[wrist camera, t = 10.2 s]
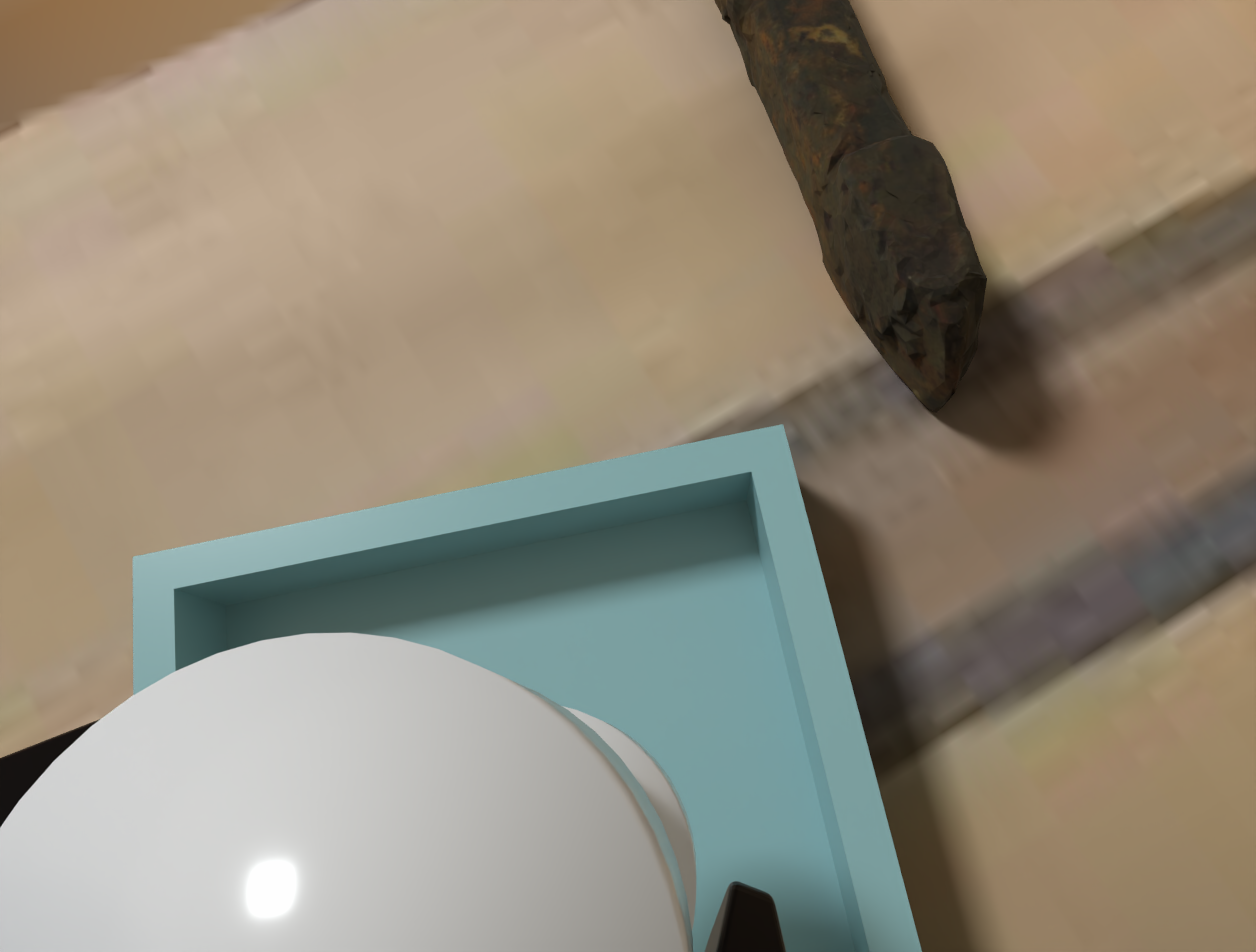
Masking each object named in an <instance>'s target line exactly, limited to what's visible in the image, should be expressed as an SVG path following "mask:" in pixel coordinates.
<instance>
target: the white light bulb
mask: <svg viewBox="0 0 1256 952" xmlns="http://www.w3.org/2000/svg"><path fill="white" fill-rule="evenodd" d="M696 880H697V874H696V852H695V845H694V839H693V833H692V829H691V826H690V822H689V819H688V815H687V812H686V810H685V807H684V805H683V802H682V800H681V798H680V795H679V793H678V791H677V790H676V788H675V786H674V784H673V783H672V781H671V779H670V777H669V776H668V775H667V773H666V772H665V771H664V769H663V768H662V767H661V765H660V764H659V763H658V761H657V760H656V759H655V758H654V757H653V756H652V755H651V754H650V753H649V752H648V751H647V750H646V749H645V748H644V747H643V746H642V745H641V744H639V743H638V742H637V741H636V740H634V739H633V738H632V737H630V736H629V735H628V734H626V733H625V732H623V731H621V730H619V729H618V728H616V727H614V726H613V725H611V724H608V723H606V722H604V721H602V720H599V719H597V718H595V717H592V716H590V715H588V714H585V713H583V712H580V711H578V710H575V709H571V708H568V707H564V706H561V705H559V704H557V703H556V702H554V701H552V700H550V699H549V698H547V697H545V696H544V695H542V694H540V693H539V692H536V691H534V690H532V689H530V688H527V687H525V686H523V685H521V684H519V683H516V682H514V681H512V680H510V679H507V678H505V677H503V676H501V675H498V674H496V673H494V672H492V671H489V670H487V669H485V668H483V667H480V666H478V665H476V664H473V663H471V662H468V661H466V660H464V659H461V658H459V657H456V656H454V655H452V654H449V653H447V652H444V651H442V650H440V649H436V648H433V647H429V646H425V645H421V644H417V643H413V642H410V641H406V640H402V639H398V638H393V637H385V636H376V635H367V634H359V633H307V634H300V635H294V636H287V637H281V638H274V639H268V640H261V641H258V642H255V643H251V644H248V645H244V646H241V647H237V648H234V649H230V650H227V651H223V652H220V653H217V654H214V655H212V656H210V657H207V658H205V659H203V660H200V661H198V662H196V663H194V664H191V665H189V666H187V667H184V668H182V669H180V670H177V671H175V672H173V673H171V674H169V675H168V676H166V677H164V678H163V679H161V680H159V681H157V682H156V683H154V684H152V685H150V686H149V687H147V688H145V689H143V690H142V691H140V692H138V693H137V694H135V695H133V696H131V697H130V698H129V699H127V700H126V701H125V702H123V703H122V704H121V705H119V706H118V707H117V708H115V709H114V710H113V711H111V712H110V713H109V714H107V715H106V716H104V717H103V718H102V719H100V720H99V721H98V722H96V723H95V724H94V725H92V726H91V727H90V728H89V729H88V730H87V731H86V732H85V733H84V734H82V735H81V736H80V737H79V738H78V739H77V740H76V741H75V742H74V743H73V744H72V745H71V746H70V747H68V748H67V749H66V750H65V751H64V752H63V753H62V754H61V755H60V756H59V757H58V758H57V759H55V760H54V761H53V763H52V764H51V765H50V766H49V767H48V768H47V769H46V771H45V772H44V773H43V774H42V775H41V776H40V777H39V779H38V780H37V781H36V782H35V783H34V784H33V785H32V787H31V788H30V789H29V790H28V791H27V792H26V793H25V795H24V796H23V797H22V798H21V799H20V800H19V802H18V803H17V805H16V806H15V807H14V809H13V810H12V812H11V813H10V814H9V816H8V817H7V819H6V820H5V821H4V823H3V824H2V826H1V827H0V952H693V936H692V929H693V924H694V915H695V903H696Z"/></svg>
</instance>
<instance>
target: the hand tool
mask: <svg viewBox="0 0 1256 952" xmlns="http://www.w3.org/2000/svg"><path fill="white" fill-rule="evenodd" d="M715 3H716V5H717V6H718V8H719V10H720V12H721V14H722V19H723V20H725V21H726V22H727V23H728V24H730V26H731V29H732V32H733V34H734V37H735V39H736V41H737V44H738V46H739V48H740V51H741V54H742V57H743V60H744V63H745V67H746V70H747V74H748V77H749V80H750V82H751V85H752V86H754V87H755V88H756V90H757V93H758V95H759V97H760V99H761V101H762V103H763V105H764V107H765V109H766V112H767V114H768V116H769V119H770V121H771V123H772V126H773V128H774V130H775V132H776V135H777V137H778V139H779V141H780V144H781V146H782V148H783V151H784V154H785V156H786V159H787V161H788V163H789V165H790V168H791V170H792V172H793V174H794V176H795V178H796V180H797V182H798V184H799V187H800V190H801V193H802V195H803V198H804V201H805V203H806V205H807V207H808V209H809V212H810V214H811V216H812V218H813V221H814V224H815V227H816V230H817V234H818V237H819V241H820V245H821V249H822V253H823V263H824V265H825V268H826V270H827V272H828V274H829V276H830V278H831V280H832V282H833V284H834V286H835V288H836V290H837V291H838V293H839V294H840V296H841V298H842V299H843V301H844V303H845V304H846V306H847V308H848V310H849V311H850V313H851V314H852V315H853V317H854V318H855V319H856V321H857V322H858V324H859V325H860V326H861V328H862V329H863V331H864V332H865V333H866V335H867V336H868V338H869V339H870V340H871V342H872V343H873V344H874V346H875V347H876V348H877V350H878V351H879V352H880V354H881V355H882V356H883V358H884V359H885V360H886V361H887V363H888V364H889V365H890V366H891V368H892V369H893V370H894V371H895V373H896V374H897V375H898V376H899V377H900V378H901V379H902V380H903V381H904V383H905V384H906V385H907V386H908V387H909V388H910V389H911V390H912V392H913V393H914V394H915V395H916V397H917V398H918V399H919V400H920V401H921V402H922V403H923V404H924V405H925V406H926V407H927V408H928V409H930V410H932V411H934V412H937V411H938V410H940V409H941V408H942V407H943V406H944V404H945V403H946V402H947V401H948V400H949V399H950V398H951V397H952V395H953V394H954V393H955V390H956V388H957V385H958V383H959V381H960V380H961V378H962V377H963V376H964V374H965V373H966V371H967V369H968V367H969V365H970V363H971V361H972V358H973V356H974V354H975V352H976V350H977V339H978V328H979V323H980V318H981V314H982V309H983V303H984V295H985V288H986V281H987V278H986V276H985V274H984V272H983V269H982V267H981V265H980V262H979V259H978V256H977V253H976V251H975V248H974V244H973V241H972V238H971V235H970V232H969V230H968V229H967V227H966V225H965V222H964V219H963V216H962V213H961V210H960V207H959V204H958V201H957V197H956V193H955V190H954V186H953V183H952V180H951V177H950V174H949V171H948V169H947V166H946V164H945V161H944V159H943V158H942V156H941V154H940V153H939V151H938V150H937V149H936V147H935V146H934V144H933V143H931V142H929V141H926V140H923V139H921V138H918V137H916V136H913V135H912V134H911V131H910V132H909V130H908V128H907V126H906V125H905V123H904V121H903V119H902V117H901V116H900V114H899V112H898V110H897V108H896V106H895V104H894V103H893V101H892V99H891V97H890V95H889V93H888V90H887V86H886V82H885V79H884V76H883V74H882V72H881V70H880V68H879V66H878V64H877V62H876V60H875V58H874V56H873V54H872V52H871V49H870V47H869V45H868V43H867V40H866V38H865V36H864V33H863V31H862V29H861V26H860V24H859V22H858V19H857V17H856V15H855V13H854V11H853V9H852V7H851V5H850V3H849V1H848V0H715Z"/></svg>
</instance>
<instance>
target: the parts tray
mask: <svg viewBox="0 0 1256 952" xmlns="http://www.w3.org/2000/svg"><path fill="white" fill-rule="evenodd" d="M307 633H359V634H367V635H376V636H385V637H393V638H398V639H402V640H406V641H410V642H413V643H417V644H421V645H425V646H429V647H433V648H436V649H440V650H442V651H444V652H447V653H449V654H452V655H454V656H456V657H459V658H461V659H464V660H466V661H468V662H471V663H473V664H476V665H478V666H480V667H483V668H485V669H487V670H489V671H492V672H494V673H496V674H498V675H501V676H503V677H505V678H507V679H510V680H512V681H514V682H516V683H519V684H521V685H523V686H525V687H527V688H530V689H532V690H534V691H536V692H539V693H540V694H542V695H544V696H545V697H547V698H549V699H550V700H552V701H554V702H556V703H557V704H559V705H561V706H564V707H568V708H571V709H575V710H578V711H580V712H583V713H585V714H588V715H590V716H592V717H595V718H597V719H599V720H602V721H604V722H606V723H608V724H611V725H613V726H614V727H616V728H618V729H619V730H621V731H623V732H625V733H626V734H628V735H629V736H630V737H632V738H633V739H634V740H636V741H637V742H638V743H639V744H641V745H642V746H643V747H644V748H645V749H646V750H647V751H648V752H649V753H650V754H651V755H652V756H653V757H654V758H655V759H656V760H657V761H658V763H659V764H660V765H661V767H662V768H663V769H664V771H665V772H666V773H667V775H668V776H669V777H670V779H671V781H672V783H673V784H674V786H675V788H676V790H677V791H678V793H679V795H680V798H681V800H682V802H683V805H684V807H685V810H686V812H687V815H688V819H689V822H690V826H691V829H692V833H693V839H694V845H695V852H696V874H697V880H696V903H695V915H694V924H693V929H692V936H693V952H705V949H706V946H707V943H708V939H709V936H710V933H711V931H712V928H713V925H714V923H715V920H716V917H717V915H718V912H719V909H720V906H721V904H722V901H723V898H724V896H725V893H726V891H727V888H728V886H729V884H730V883H731V882H734V881H739V882H742V883H744V884H747V885H750V886H752V887H755V888H757V889H760V890H762V891H765V892H767V893H769V894H770V895H771V896H772V898H773V900H774V902H775V905H776V909H777V913H778V918H779V922H780V927H781V931H782V935H783V940H784V944H785V949H786V952H922V950H921V946H920V943H919V939H918V935H917V931H916V927H915V924H914V920H913V916H912V912H911V908H910V905H909V901H908V897H907V893H906V889H905V886H904V882H903V878H902V874H901V870H900V867H899V863H898V859H897V855H896V851H895V848H894V844H893V840H892V836H891V832H890V829H889V825H888V821H887V817H886V813H885V810H884V806H883V802H882V798H881V794H880V791H879V787H878V783H877V779H876V776H875V772H874V768H873V764H872V760H871V757H870V753H869V749H868V745H867V741H866V738H865V734H864V730H863V726H862V722H861V719H860V715H859V711H858V707H857V703H856V700H855V696H854V692H853V688H852V684H851V681H850V677H849V673H848V669H847V665H846V662H845V658H844V654H843V650H842V646H841V643H840V639H839V635H838V631H837V627H836V624H835V620H834V616H833V612H832V608H831V605H830V601H829V597H828V593H827V590H826V586H825V582H824V578H823V574H822V571H821V567H820V563H819V559H818V555H817V552H816V548H815V544H814V540H813V536H812V533H811V529H810V525H809V521H808V517H807V514H806V510H805V506H804V502H803V498H802V495H801V491H800V487H799V483H798V479H797V476H796V472H795V468H794V464H793V460H792V457H791V453H790V449H789V445H788V441H787V438H786V434H785V430H784V426H783V424H782V425H777V426H772V427H767V428H762V429H757V430H752V431H747V432H742V433H738V434H733V435H728V436H723V437H718V438H713V439H708V440H703V441H698V442H693V443H689V444H684V445H679V446H674V447H669V448H664V449H659V450H654V451H649V452H644V453H639V454H635V455H630V456H625V457H620V458H615V459H610V460H605V461H600V462H595V463H590V464H586V465H581V466H576V467H571V468H566V469H561V470H556V471H551V472H546V473H541V474H537V475H532V476H527V477H522V478H517V479H512V480H507V481H502V482H497V483H492V484H487V485H483V486H478V487H473V488H468V489H463V490H458V491H453V492H448V493H443V494H438V495H434V496H429V497H424V498H419V499H414V500H409V501H404V502H399V503H394V504H389V505H384V506H380V507H375V508H370V509H365V510H360V511H355V512H350V513H345V514H340V515H335V516H331V517H326V518H321V519H316V520H311V521H306V522H301V523H296V524H291V525H286V526H281V527H277V528H272V529H267V530H262V531H257V532H252V533H247V534H242V535H237V536H232V537H228V538H223V539H218V540H213V541H208V542H203V543H198V544H193V545H188V546H183V547H178V548H174V549H169V550H164V551H159V552H154V553H149V554H144V555H139V556H134V557H133V690H134V695H135V694H137V693H138V692H140V691H142V690H143V689H145V688H147V687H149V686H150V685H152V684H154V683H156V682H157V681H159V680H161V679H163V678H164V677H166V676H168V675H169V674H171V673H173V672H175V671H177V670H180V669H182V668H184V667H187V666H189V665H191V664H194V663H196V662H198V661H200V660H203V659H205V658H207V657H210V656H212V655H214V654H217V653H220V652H223V651H227V650H230V649H234V648H237V647H241V646H244V645H248V644H251V643H255V642H258V641H261V640H268V639H274V638H281V637H287V636H294V635H300V634H307Z"/></svg>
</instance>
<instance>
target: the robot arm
mask: <svg viewBox="0 0 1256 952" xmlns="http://www.w3.org/2000/svg"><path fill="white" fill-rule="evenodd" d="M99 720H100V719H99ZM99 720H97V721H94V722H91V723H89V724H86V725H84V726H81V727H79V728H76V729H74V730H71V731H68V732H66V733H63V734H61V735H58V736H56V737H53V738H51V739H48V740H45V741H43V742H40V743H38V744H35V745H33V746H30V747H27V748H25V749H22V750H20V751H17V752H15V753H12V754H10V755H7V756H4V757H2V758H0V827H1V826H2V824H3V823H4V821H5V820H6V819H7V817H8V816H9V814H10V813H11V812H12V810H13V809H14V807H15V806H16V805H17V803H18V802H19V800H20V799H21V798H22V797H23V796H24V795H25V793H26V792H27V791H28V790H29V789H30V788H31V787H32V785H33V784H34V783H35V782H36V781H37V780H38V779H39V777H40V776H41V775H42V774H43V773H44V772H45V771H46V769H47V768H48V767H49V766H50V765H51V764H52V763H53V761H54V760H55V759H57V758H58V757H59V756H60V755H61V754H62V753H63V752H64V751H65V750H66V749H67V748H68V747H70V746H71V745H72V744H73V743H74V742H75V741H76V740H77V739H78V738H79V737H80V736H81V735H82V734H84V733H85V732H86V731H87V730H88V729H89V728H90V727H91V726H92V725H94V724H95V723H96V722H98V721H99ZM705 952H786V949H785V944H784V940H783V935H782V931H781V927H780V922H779V918H778V913H777V909H776V905H775V902H774V900H773V898H772V896H771V895H770V894H769V893H767V892H765V891H762V890H760V889H757V888H755V887H752V886H750V885H747V884H744V883H742V882H739V881H734V882H731V883H730V884H729V886H728V888H727V891H726V893H725V896H724V898H723V901H722V904H721V906H720V909H719V912H718V915H717V917H716V920H715V923H714V925H713V928H712V931H711V933H710V936H709V939H708V943H707V946H706V949H705Z"/></svg>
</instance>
